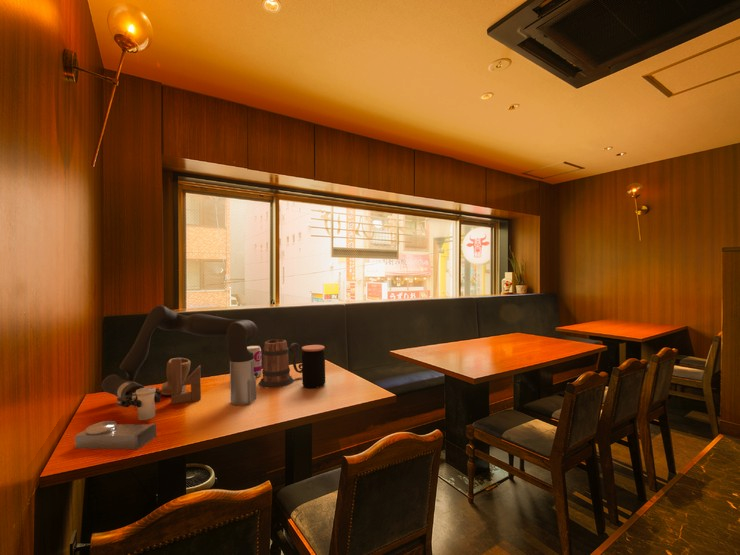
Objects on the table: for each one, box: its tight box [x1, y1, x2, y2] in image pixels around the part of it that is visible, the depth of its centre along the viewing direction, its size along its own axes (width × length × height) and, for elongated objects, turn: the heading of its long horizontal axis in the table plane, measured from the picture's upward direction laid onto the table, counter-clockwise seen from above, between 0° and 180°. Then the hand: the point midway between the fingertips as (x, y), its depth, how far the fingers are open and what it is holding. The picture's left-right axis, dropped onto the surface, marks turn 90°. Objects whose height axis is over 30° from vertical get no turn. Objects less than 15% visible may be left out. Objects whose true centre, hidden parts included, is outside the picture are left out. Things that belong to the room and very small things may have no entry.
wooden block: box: [170, 357, 202, 405], centre depth 146 cm, size 4×11×18 cm, turn 114°
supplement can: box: [247, 345, 263, 378], centre depth 181 cm, size 8×8×15 cm
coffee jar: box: [301, 344, 326, 390], centre depth 164 cm, size 11×11×18 cm
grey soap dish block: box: [74, 420, 157, 450], centre depth 111 cm, size 20×8×5 cm, turn 86°
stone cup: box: [160, 357, 192, 396], centre depth 159 cm, size 15×12×15 cm
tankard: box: [258, 339, 302, 389], centre depth 172 cm, size 24×17×20 cm
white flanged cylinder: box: [136, 386, 156, 421], centre depth 126 cm, size 6×6×10 cm
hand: (149, 401), depth 125 cm, fingers closed on white flanged cylinder, 5 cm apart
